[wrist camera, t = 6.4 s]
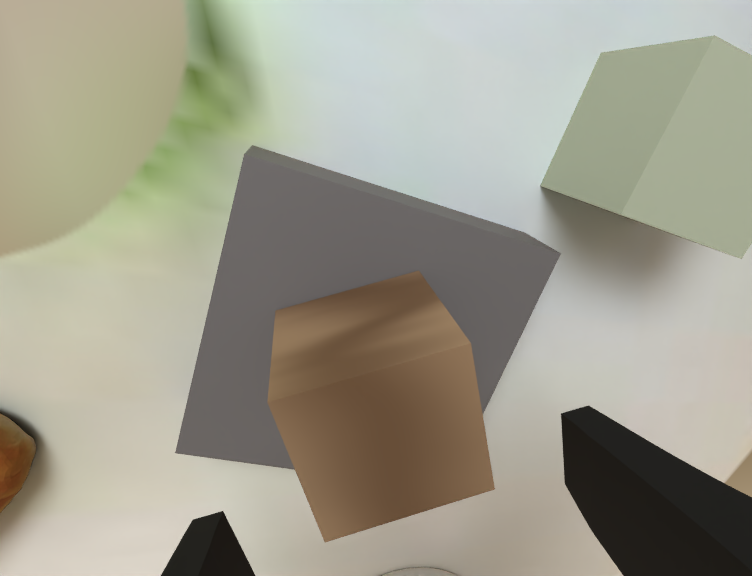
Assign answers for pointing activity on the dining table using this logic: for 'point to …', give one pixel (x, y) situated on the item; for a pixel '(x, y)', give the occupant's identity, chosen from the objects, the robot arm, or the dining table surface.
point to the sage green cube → (666, 141)
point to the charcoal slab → (341, 287)
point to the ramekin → (420, 572)
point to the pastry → (13, 459)
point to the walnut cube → (378, 404)
